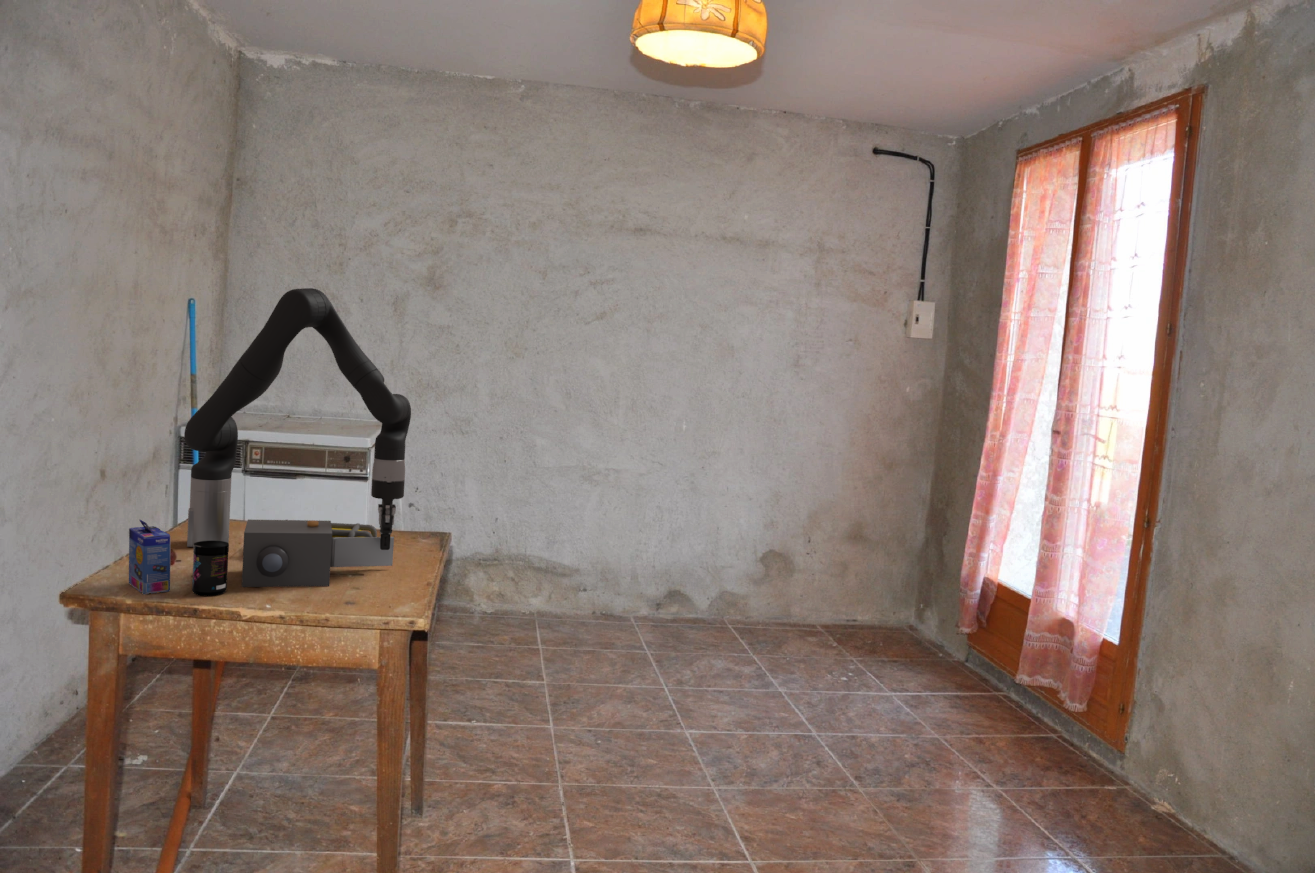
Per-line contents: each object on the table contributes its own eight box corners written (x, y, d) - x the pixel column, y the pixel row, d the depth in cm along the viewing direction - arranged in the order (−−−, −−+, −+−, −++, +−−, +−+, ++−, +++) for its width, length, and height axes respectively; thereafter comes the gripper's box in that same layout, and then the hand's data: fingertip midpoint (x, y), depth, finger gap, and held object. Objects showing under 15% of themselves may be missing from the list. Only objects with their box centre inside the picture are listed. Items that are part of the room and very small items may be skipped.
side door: (392, 565, 229) (394, 537, 229) (330, 567, 223) (331, 538, 223) (391, 564, 231) (393, 536, 230) (329, 565, 224) (331, 536, 224)
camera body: (240, 590, 202) (243, 530, 201) (245, 570, 218) (247, 515, 216) (329, 589, 208) (332, 531, 207) (327, 570, 224) (330, 516, 223)
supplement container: (207, 586, 203) (209, 538, 202) (234, 591, 201) (236, 543, 200) (184, 593, 196) (186, 544, 195) (211, 598, 195) (213, 549, 194)
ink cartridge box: (126, 584, 200) (128, 516, 198) (154, 580, 204) (156, 514, 202) (142, 595, 193) (144, 525, 191) (170, 591, 197) (173, 523, 195)
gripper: (371, 473, 230) (368, 543, 231) (372, 481, 217) (368, 555, 219) (403, 474, 232) (399, 543, 234) (406, 482, 220) (402, 555, 221)
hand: (384, 549), depth 226 cm, fingers closed
